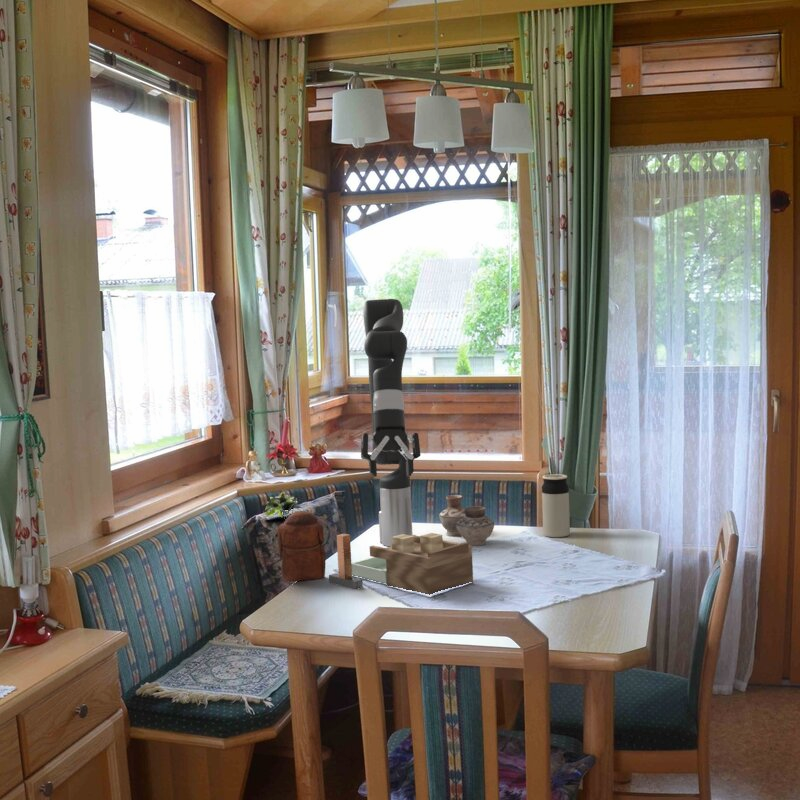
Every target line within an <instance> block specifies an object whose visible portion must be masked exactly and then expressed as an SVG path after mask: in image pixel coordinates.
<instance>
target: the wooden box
mask: <svg viewBox="0 0 800 800" xmlns="http://www.w3.org/2000/svg"><path fill="white" fill-rule="evenodd" d="M411 536H414V549H415V552H412V553H407V552H402V551H397V550H392V546H387V547H383V546H378V545H370V546H369V556H370V557H371V558H372V557H377V558H381V559H386V570H387V585H388V586H393V587H398V588H403V589H406V590H412V591H417V592H421V593H425V594H429V595H430V594H433V593H435V592H438V591H441V590H445V589H448V588H452V587H456V586H459V585H463V584H466V583H469V582H473V583H474V567H473V546H470V545H468V543H466V541H464V542H462V543H457V542H453V541H452V542H451V541H447V540H443V549H440V550H436V551H432V552H429V553H427V552H422V551H421V546H420V536H421V535H414V534H412V535H411ZM387 585H386V586H387Z"/></svg>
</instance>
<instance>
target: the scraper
mask: <svg viewBox="0 0 800 800" xmlns="http://www.w3.org/2000/svg"><path fill="white" fill-rule="evenodd" d="M336 547H337V548H336V549H337V550H336V551H337V566H338V567H337V568H338V573H336V572H335V573H332V574H329V575H328V581H329V584H333V585H336V584H337V586H340V585H341V586H340V587H345V588H349V589H352V590H355V589H356V590H358V588H359V589H361V587H362V588H363V587H364V585H363V581H364V580H363V579H359V578H355V577H352V565H351V563H352V553H351V551H352V550H351V534H348V533H341V534H337V535H336Z"/></svg>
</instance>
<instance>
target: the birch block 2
mask: <svg viewBox="0 0 800 800" xmlns="http://www.w3.org/2000/svg"><path fill="white" fill-rule="evenodd" d="M419 536H420V546H421V551H422V552H427V553H429V552H432V551H436V550H440V549H443V541H444V540H443V534H441V533H440V534H438V533H434V532H429V533H425V534H422V535H419Z"/></svg>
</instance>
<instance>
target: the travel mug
mask: <svg viewBox="0 0 800 800" xmlns="http://www.w3.org/2000/svg"><path fill="white" fill-rule="evenodd" d="M567 478H568V475H567V474H562V473H552V474H551V473H550V474H544V475H542V479H543V484H542V486H541V499H542V500H541V502H542V503H541V504H542V507H541V508H542V526H543V527H542V531H543V535H544V536H545V537H548V538H565V537H568V536H570V535H571V521H570V494H569V493H570V492H569V491H570V489H569V488H570V487H569V485H568V483H567Z"/></svg>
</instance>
